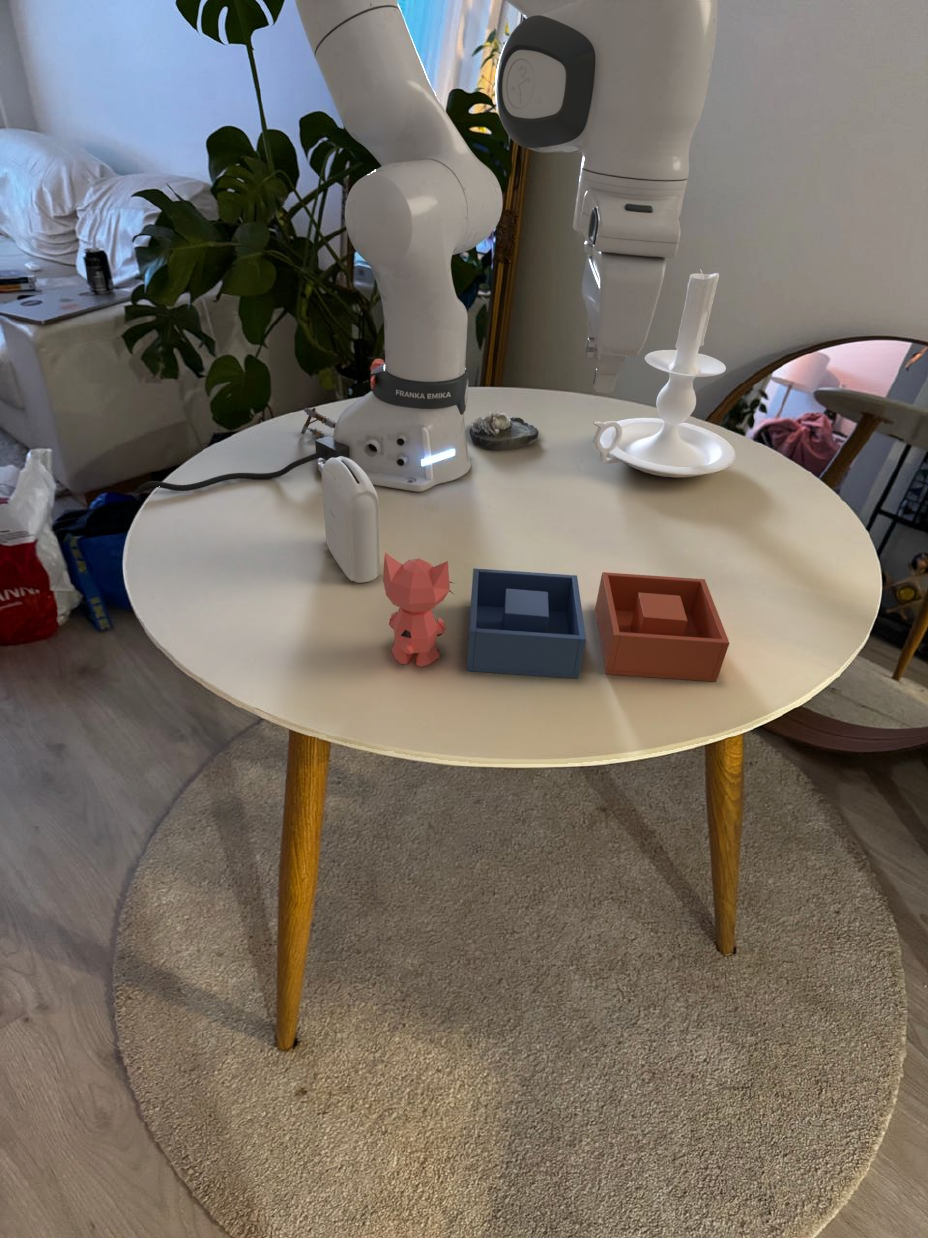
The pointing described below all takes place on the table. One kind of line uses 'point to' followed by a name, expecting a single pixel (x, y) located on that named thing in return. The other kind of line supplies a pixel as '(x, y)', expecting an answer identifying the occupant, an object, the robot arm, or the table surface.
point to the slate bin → (525, 649)
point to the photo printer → (351, 519)
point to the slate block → (525, 611)
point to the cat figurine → (415, 607)
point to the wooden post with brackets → (318, 417)
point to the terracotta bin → (659, 653)
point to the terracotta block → (659, 615)
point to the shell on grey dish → (502, 432)
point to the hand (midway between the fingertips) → (598, 372)
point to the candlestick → (674, 404)
